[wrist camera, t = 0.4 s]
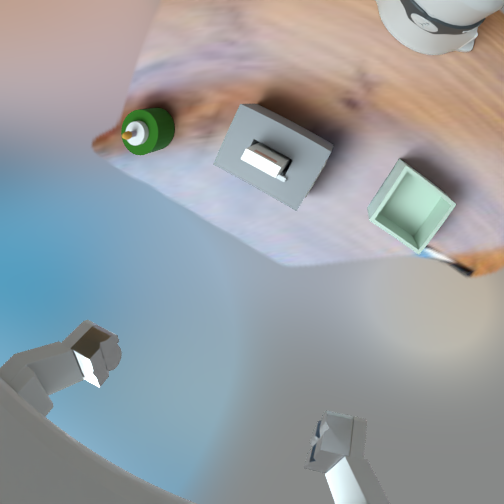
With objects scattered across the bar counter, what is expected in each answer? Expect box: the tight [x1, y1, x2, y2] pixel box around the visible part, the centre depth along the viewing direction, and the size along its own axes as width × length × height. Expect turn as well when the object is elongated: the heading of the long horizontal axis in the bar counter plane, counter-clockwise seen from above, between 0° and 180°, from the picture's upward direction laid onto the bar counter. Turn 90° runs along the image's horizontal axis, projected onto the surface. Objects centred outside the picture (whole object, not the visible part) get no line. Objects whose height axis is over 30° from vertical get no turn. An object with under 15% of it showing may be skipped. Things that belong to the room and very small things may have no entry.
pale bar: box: [241, 142, 292, 178], centre depth 42 cm, size 2×5×11 cm, turn 64°
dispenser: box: [213, 104, 334, 211], centre depth 44 cm, size 10×14×9 cm
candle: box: [121, 108, 175, 155], centre depth 48 cm, size 8×8×10 cm
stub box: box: [367, 159, 456, 254], centre depth 43 cm, size 10×10×6 cm
